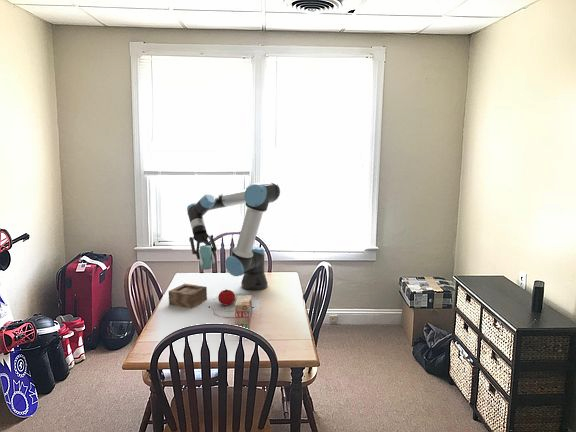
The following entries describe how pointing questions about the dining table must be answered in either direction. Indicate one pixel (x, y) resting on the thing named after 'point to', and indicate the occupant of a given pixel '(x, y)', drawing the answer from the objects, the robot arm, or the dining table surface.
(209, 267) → the teal round block
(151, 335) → the dining table surface
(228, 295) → the tomato
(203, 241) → the robot arm
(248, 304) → the printed cardboard box
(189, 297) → the wooden box
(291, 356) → the dining table surface
